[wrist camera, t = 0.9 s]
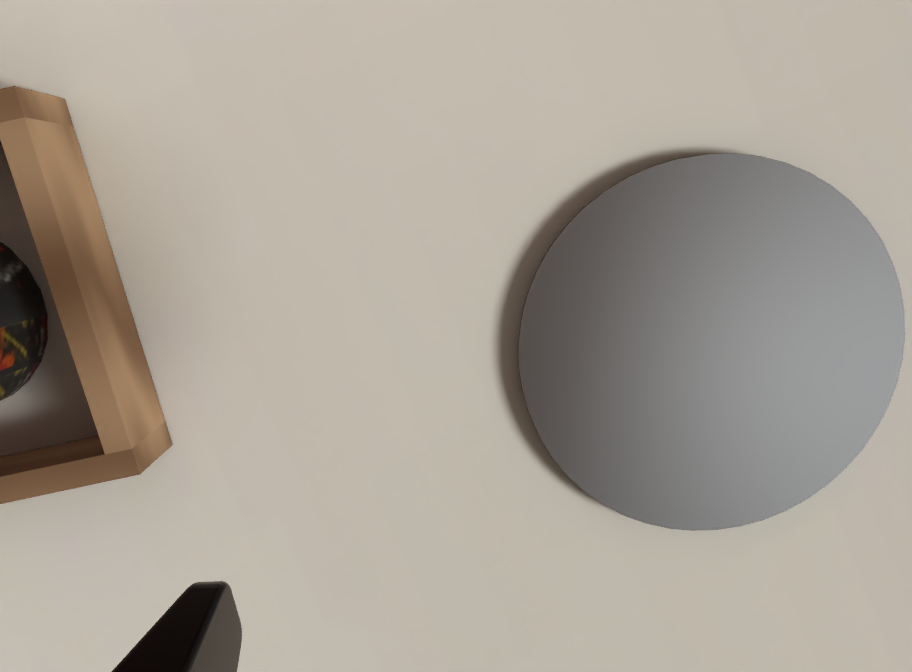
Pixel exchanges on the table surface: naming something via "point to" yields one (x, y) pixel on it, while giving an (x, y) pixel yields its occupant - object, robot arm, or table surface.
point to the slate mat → (711, 341)
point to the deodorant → (19, 323)
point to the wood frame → (78, 307)
